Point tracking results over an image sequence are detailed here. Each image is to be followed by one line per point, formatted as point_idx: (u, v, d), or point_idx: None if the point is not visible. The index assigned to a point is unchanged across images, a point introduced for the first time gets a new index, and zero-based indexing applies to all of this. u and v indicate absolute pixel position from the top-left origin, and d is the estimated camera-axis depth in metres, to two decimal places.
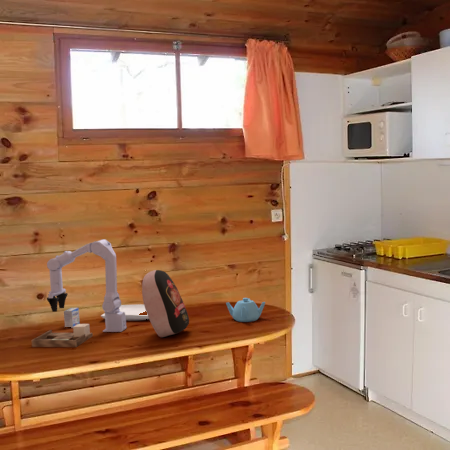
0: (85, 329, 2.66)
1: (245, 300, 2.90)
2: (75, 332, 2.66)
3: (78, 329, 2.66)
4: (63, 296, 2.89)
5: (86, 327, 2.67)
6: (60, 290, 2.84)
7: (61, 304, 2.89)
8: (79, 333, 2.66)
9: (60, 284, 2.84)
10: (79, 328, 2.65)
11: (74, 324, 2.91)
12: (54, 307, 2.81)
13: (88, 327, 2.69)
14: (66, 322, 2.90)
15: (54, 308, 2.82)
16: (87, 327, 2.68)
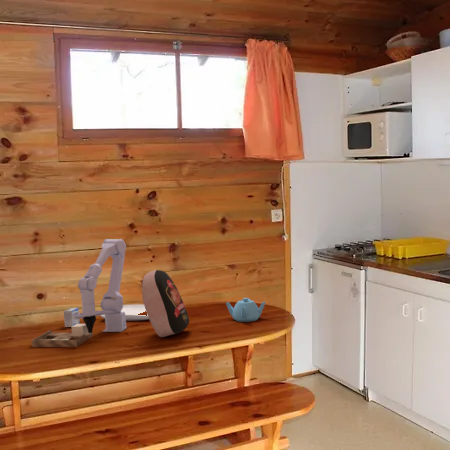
0: (83, 329, 2.66)
1: (245, 300, 2.90)
2: (73, 332, 2.66)
3: (76, 329, 2.66)
4: None
5: (84, 327, 2.67)
6: (87, 312, 2.64)
7: None
8: (77, 333, 2.66)
9: (88, 306, 2.64)
10: (77, 328, 2.66)
11: (74, 324, 2.91)
12: (88, 328, 2.67)
13: (86, 327, 2.70)
14: (66, 322, 2.90)
15: (88, 329, 2.67)
16: (85, 327, 2.69)
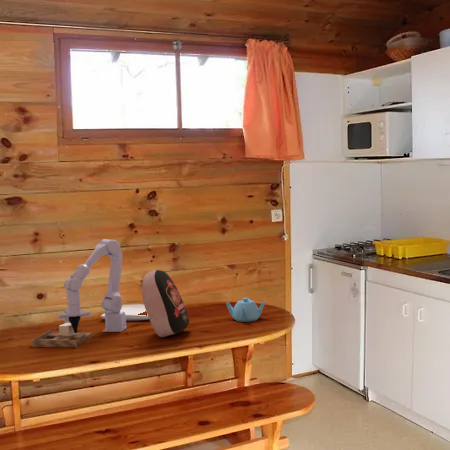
0: (69, 328, 2.69)
1: (245, 300, 2.90)
2: (60, 331, 2.70)
3: (63, 328, 2.69)
4: (74, 320, 2.67)
5: (71, 326, 2.70)
6: (71, 312, 2.66)
7: None
8: (64, 332, 2.69)
9: (71, 306, 2.65)
10: (64, 327, 2.69)
11: None
12: None
13: None
14: (66, 322, 2.90)
15: None
16: None
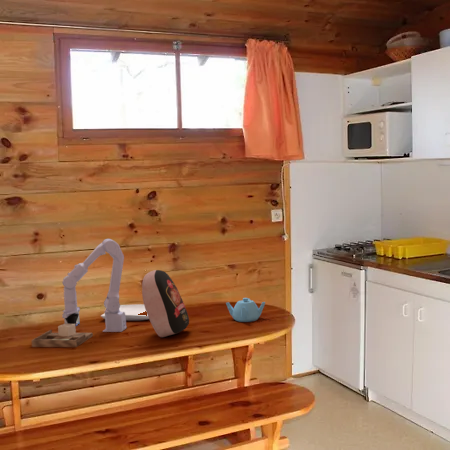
0: (69, 329, 2.68)
1: (245, 300, 2.90)
2: (60, 331, 2.69)
3: (62, 329, 2.68)
4: None
5: (70, 327, 2.69)
6: (74, 309, 2.72)
7: None
8: (63, 333, 2.68)
9: (74, 303, 2.72)
10: (63, 328, 2.68)
11: None
12: None
13: (73, 327, 2.71)
14: (66, 322, 2.90)
15: None
16: (72, 327, 2.70)
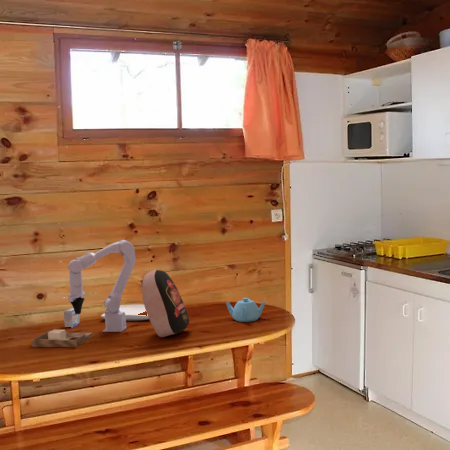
0: (60, 335, 2.57)
1: (245, 300, 2.90)
2: (50, 338, 2.57)
3: (53, 335, 2.57)
4: None
5: (61, 333, 2.58)
6: (80, 293, 2.73)
7: None
8: (54, 339, 2.57)
9: (80, 287, 2.73)
10: (54, 334, 2.57)
11: (74, 324, 2.91)
12: (77, 310, 2.75)
13: (64, 333, 2.60)
14: (66, 322, 2.90)
15: (77, 310, 2.75)
16: (62, 333, 2.59)
